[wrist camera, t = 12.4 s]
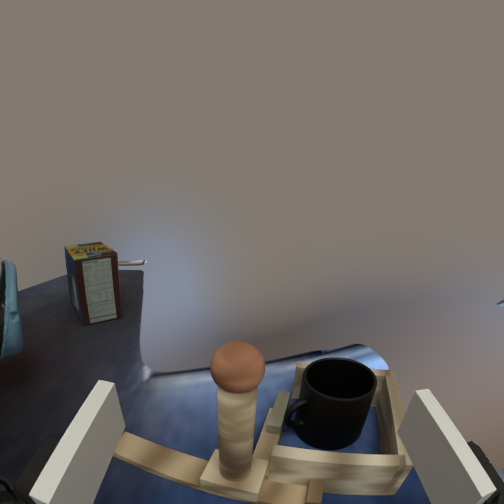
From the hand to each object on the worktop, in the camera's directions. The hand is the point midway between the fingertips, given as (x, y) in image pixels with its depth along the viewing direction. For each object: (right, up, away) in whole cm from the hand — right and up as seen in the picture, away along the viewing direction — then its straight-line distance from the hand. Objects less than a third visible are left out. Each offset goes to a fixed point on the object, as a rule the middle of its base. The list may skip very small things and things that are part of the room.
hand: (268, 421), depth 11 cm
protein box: (-39, -8, +57) cm, 70 cm away
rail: (-6, -18, +16) cm, 25 cm away
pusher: (-1, -17, +20) cm, 26 cm away
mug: (+8, -17, +24) cm, 31 cm away
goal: (+10, -17, +22) cm, 30 cm away
